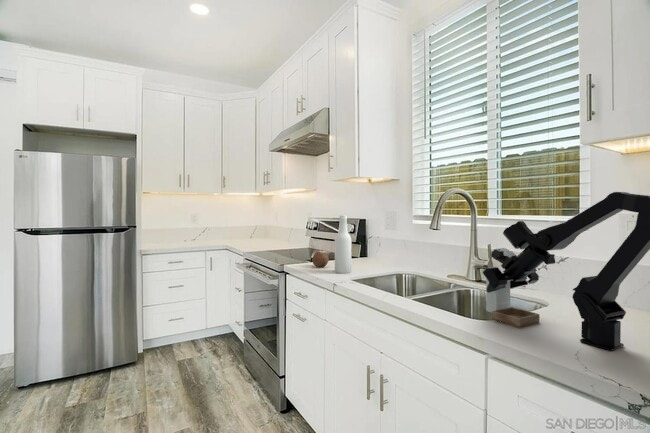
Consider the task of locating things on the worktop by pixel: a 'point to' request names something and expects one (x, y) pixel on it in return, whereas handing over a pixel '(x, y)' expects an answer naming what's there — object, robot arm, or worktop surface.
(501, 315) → the walnut tray
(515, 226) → the robot arm
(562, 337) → the worktop surface
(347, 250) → the alcohol
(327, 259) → the onion
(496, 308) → the skincare box
